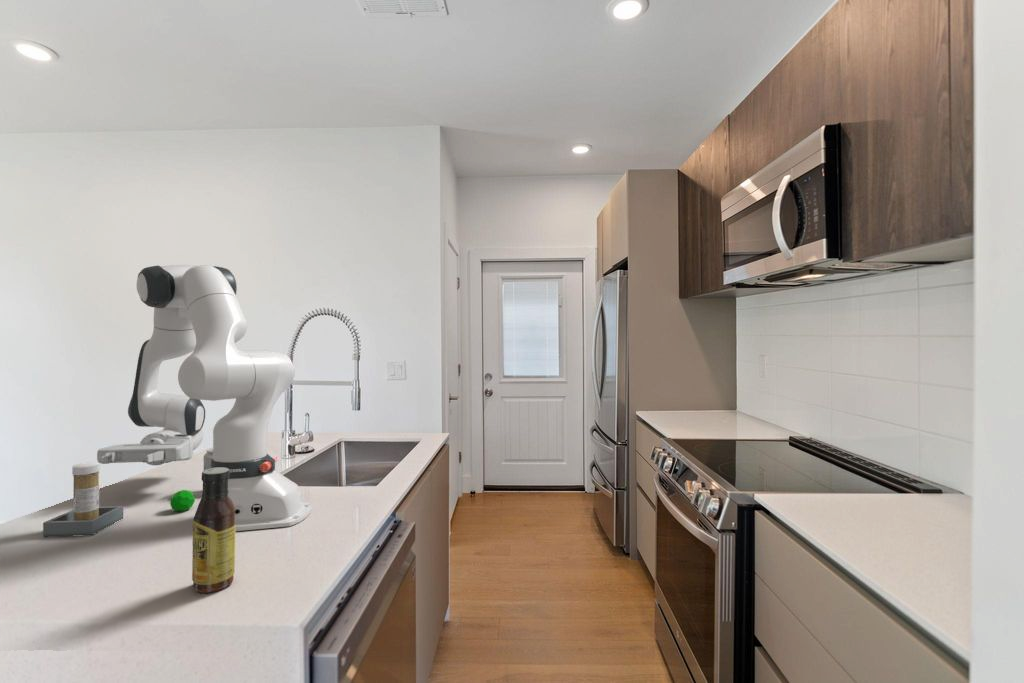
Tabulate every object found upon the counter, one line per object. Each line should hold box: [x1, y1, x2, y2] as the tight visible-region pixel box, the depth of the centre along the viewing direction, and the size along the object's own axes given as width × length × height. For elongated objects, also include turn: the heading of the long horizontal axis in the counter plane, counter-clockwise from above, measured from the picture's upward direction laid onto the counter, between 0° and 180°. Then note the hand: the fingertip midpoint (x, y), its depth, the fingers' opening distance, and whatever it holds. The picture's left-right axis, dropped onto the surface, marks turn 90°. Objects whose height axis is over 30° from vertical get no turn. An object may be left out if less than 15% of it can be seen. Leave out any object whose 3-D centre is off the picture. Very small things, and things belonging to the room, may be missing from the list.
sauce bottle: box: [191, 467, 236, 594], centre depth 85 cm, size 6×6×20 cm
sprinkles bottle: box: [71, 461, 101, 521], centre depth 110 cm, size 5×5×14 cm
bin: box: [42, 505, 124, 537], centre depth 110 cm, size 10×10×3 cm
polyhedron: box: [169, 489, 196, 512], centre depth 121 cm, size 5×5×5 cm
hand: (124, 459), depth 122 cm, fingers open, 8 cm apart
